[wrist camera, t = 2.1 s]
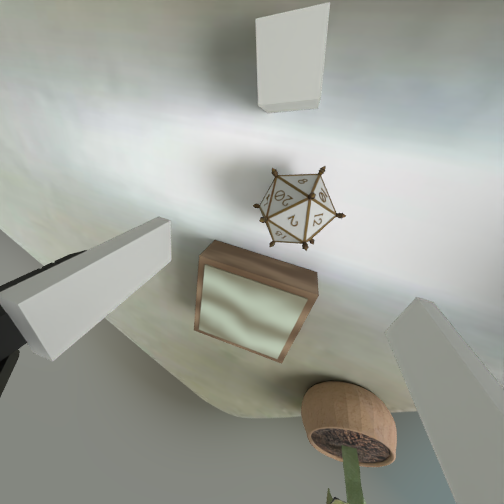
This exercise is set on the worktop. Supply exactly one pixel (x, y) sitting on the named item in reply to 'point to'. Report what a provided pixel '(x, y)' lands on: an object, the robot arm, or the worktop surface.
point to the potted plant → (349, 431)
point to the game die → (297, 208)
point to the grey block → (291, 58)
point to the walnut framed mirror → (252, 299)
